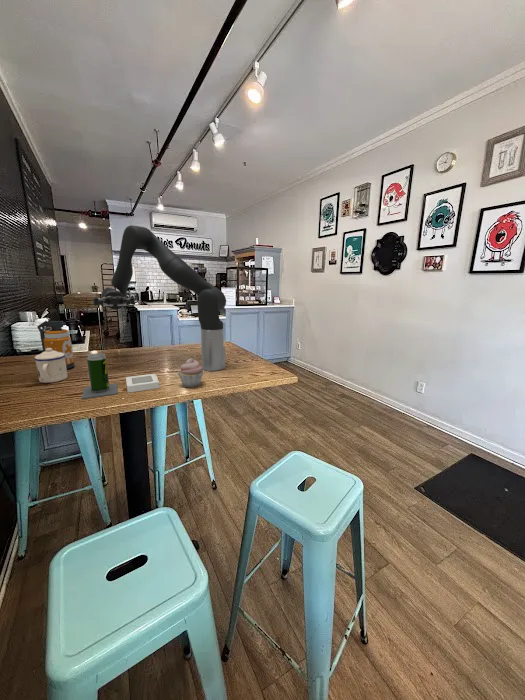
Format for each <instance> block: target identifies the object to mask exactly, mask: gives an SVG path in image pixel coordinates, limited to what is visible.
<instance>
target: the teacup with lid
mask: <svg viewBox="0 0 525 700" xmlns="http://www.w3.org/2000/svg"><path fill="white" fill-rule="evenodd" d="M34 361H35V367H36V371H37V377H38V380H39V382H40V383H47V384H48V383H56V382H61V381H64V380H66V379H67V378H68V369H66V362H65V354H64V353H62V352H57V351H53V350H52V348H47V349H46V351H45V352H43V351H42V352H41V353H39V354H37V355H35V356H34Z"/></svg>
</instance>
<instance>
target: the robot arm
mask: <svg viewBox="0 0 525 700" xmlns="http://www.w3.org/2000/svg"><path fill="white" fill-rule="evenodd" d="M136 250H141V251H142V250H143V251H145V252H147V253H149V254H150V255H151V256H152V257H154V258H155V259H156V261H157V263H158V266H159V268H160V270H161V271H162V273H164V274H165V275H166V276H167V277H169V279H170V280H172V282H174V283H176V284H178V285H179V286H181V287H183V288H185V289H187V290H188V291H190V292H193V293H194V294H195V295H197V299H196V300H197V304H196V305H197V306H196V307H197V316H198V317H197V318H198V321H199V324H200V342H201V344H200V345H201V346H200V347H201V367H202V370H204V371H207V372H208V371H209V372H216V371H221V370H223V369H226V346H224V322H223V321H222V320H221V319H220V311H221V310H223V309H225V307H226V305H227V297H226V296H225V294H224V292H223V291H222V290H220V289H219V288H217V286H214V285H213V284H211V283H210V282H209V281H207V280H206V279H205V278H203V277H202V276H201V275H200V274H199V273H198V272H197V271H196V270H194V269H193V268H192V267H191V266H190V265H189V264H188V263H187V262H186V261H184V259H182V258H181V257H180V256H178V255H177V254H176V253H175V252H173V250H171V249H170V248H169V247H168V246H166V245H165V244H164V243H163V242H162V241H161V240H160V239H159V238H158V236H157V235H155V233H153V232H152V231H151V230H150V229H149V228H147V227H145V226H138V225H133V224H132V225H131V224H130V225H128V226H126V227H125V229H124V231H123V233H122V238H121V244H120V249H119V255H118V261H117V265H116V268H115V270H114V273H113V276H112V279H111V286H112V287H113V288H111V287H106V288H104V289H102V292H101V296H100V298H99V297H93V299H92V300H93V305H94V306H98V305H99V306H100V307H108V308H109V309H110V310H115V311H117V310H121V309H122V308H123V307H126V306H130V305H133V306H135V305H136V298H135V297H133V296H131V297H128V296H127V295H128V287H129V285H130V283H131V281H132V277H133V273H134V271H133V270H134V269H133V263H132V262H133V261H132V260H133V256H134V254H135V253H136ZM114 288H115V289H114Z"/></svg>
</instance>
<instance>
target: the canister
mask: <svg viewBox="0 0 525 700" xmlns="http://www.w3.org/2000/svg"><path fill="white" fill-rule="evenodd" d="M66 325H67V322H65V321H63V320H58V321H57V320H51V319H49V320H45V321H43V322H42V323H40V324H38V325H37V326H36V327H37V329H38V331H39V337H40V341H41V346H42V352H45V351H46V349H47V348H52V350H53V351H57V352H62V353H64V354H65V362H66V369H67V370H69V369H71V368H73V367H74V366H75V360H74V359H75V358H74V352H73V346H72V345H73V344H72V338H71V336H70V335H69V331H68V330H67V329H66V328H65V329H64V326H66Z"/></svg>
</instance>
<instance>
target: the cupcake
mask: <svg viewBox="0 0 525 700" xmlns="http://www.w3.org/2000/svg"><path fill="white" fill-rule="evenodd" d="M204 374H205V370H203V369H202V365H200V362H199V361H197V360H196V359H194V358H192V357H191V358H189V359H187V360H186V361H185V363H183V364H181V366H180V370H179V371H178V372H177V375H178V377H179V378H180V381H181V385H182V386H183V387H184V388H195V387H199V386H201V383H202V378H203V376H204Z"/></svg>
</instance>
